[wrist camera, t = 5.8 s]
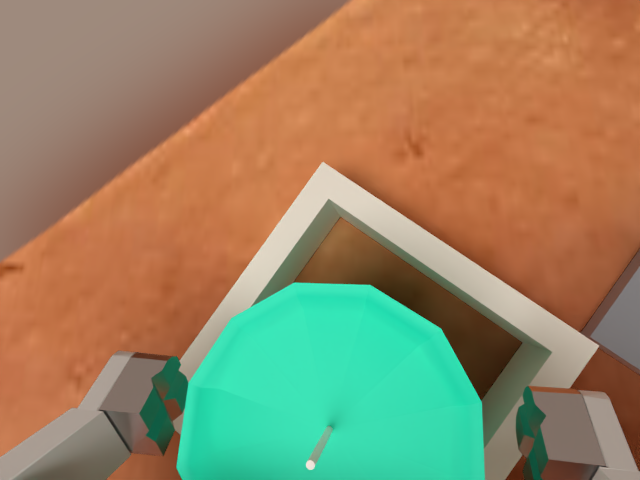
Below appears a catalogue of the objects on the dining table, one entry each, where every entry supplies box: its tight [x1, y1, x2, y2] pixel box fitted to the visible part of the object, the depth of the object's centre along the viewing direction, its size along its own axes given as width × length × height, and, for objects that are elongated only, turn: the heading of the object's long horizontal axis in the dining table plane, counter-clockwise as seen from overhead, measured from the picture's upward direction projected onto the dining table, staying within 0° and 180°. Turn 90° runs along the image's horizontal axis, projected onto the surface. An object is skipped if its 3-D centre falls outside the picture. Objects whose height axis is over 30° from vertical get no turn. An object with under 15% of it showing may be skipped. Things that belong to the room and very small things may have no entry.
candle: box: [176, 283, 485, 480], centre depth 13 cm, size 6×6×12 cm
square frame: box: [173, 162, 599, 480], centre depth 17 cm, size 11×11×4 cm
